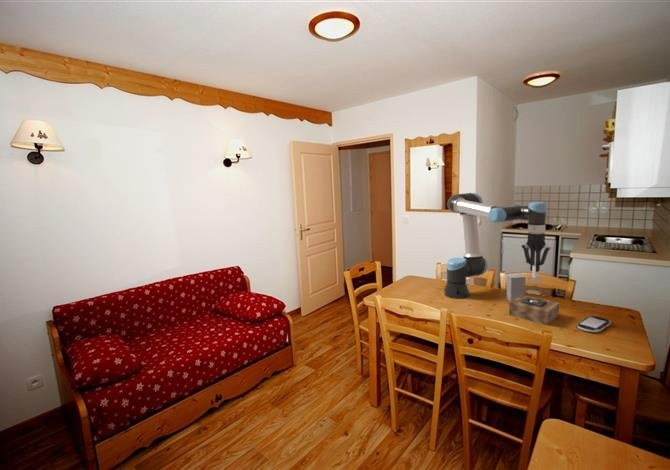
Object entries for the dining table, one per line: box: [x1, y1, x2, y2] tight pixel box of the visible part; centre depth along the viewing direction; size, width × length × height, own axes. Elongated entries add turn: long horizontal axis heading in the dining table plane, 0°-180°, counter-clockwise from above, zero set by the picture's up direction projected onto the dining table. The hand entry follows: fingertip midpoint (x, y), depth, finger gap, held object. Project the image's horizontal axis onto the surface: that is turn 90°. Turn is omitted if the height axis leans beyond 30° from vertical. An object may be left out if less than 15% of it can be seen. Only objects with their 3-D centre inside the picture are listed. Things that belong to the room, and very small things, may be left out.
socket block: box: [508, 294, 560, 326], centre depth 168 cm, size 18×16×8 cm
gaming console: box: [576, 315, 612, 334], centre depth 153 cm, size 19×9×2 cm, turn 122°
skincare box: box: [506, 273, 526, 302], centre depth 189 cm, size 8×7×16 cm
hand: (534, 277), depth 166 cm, fingers closed
